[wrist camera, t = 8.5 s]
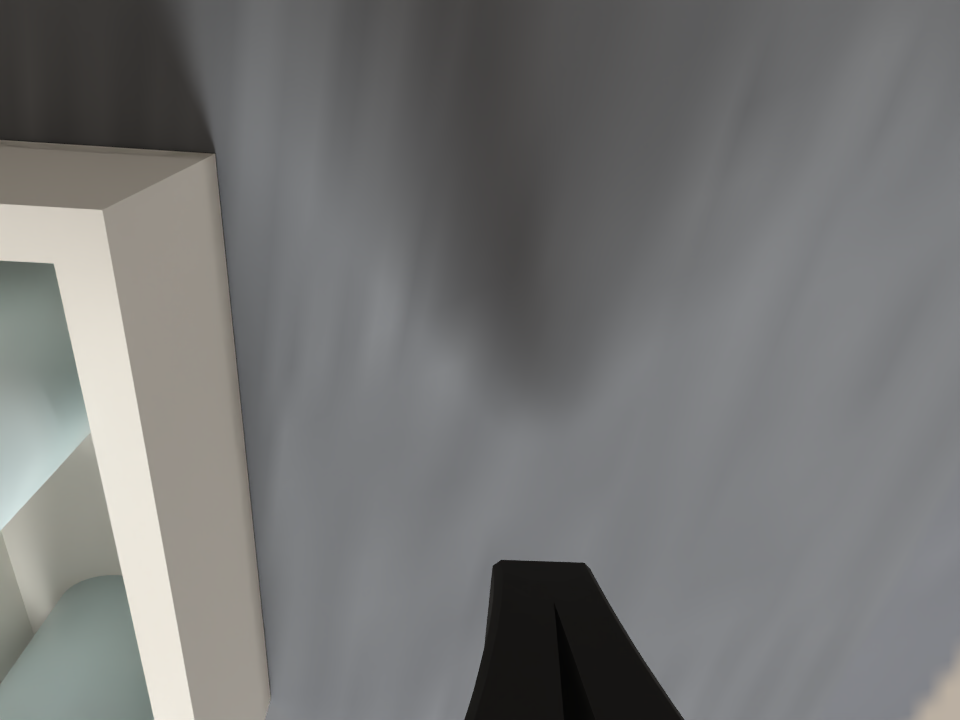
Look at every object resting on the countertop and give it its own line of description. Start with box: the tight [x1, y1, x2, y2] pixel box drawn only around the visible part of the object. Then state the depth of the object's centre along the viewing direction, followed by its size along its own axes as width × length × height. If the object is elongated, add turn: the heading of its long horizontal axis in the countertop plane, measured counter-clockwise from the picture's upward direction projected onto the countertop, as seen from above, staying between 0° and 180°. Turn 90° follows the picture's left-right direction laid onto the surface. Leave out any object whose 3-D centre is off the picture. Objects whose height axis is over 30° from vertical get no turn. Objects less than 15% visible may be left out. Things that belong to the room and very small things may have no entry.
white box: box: [0, 140, 271, 720], centre depth 10 cm, size 12×5×5 cm, turn 176°
